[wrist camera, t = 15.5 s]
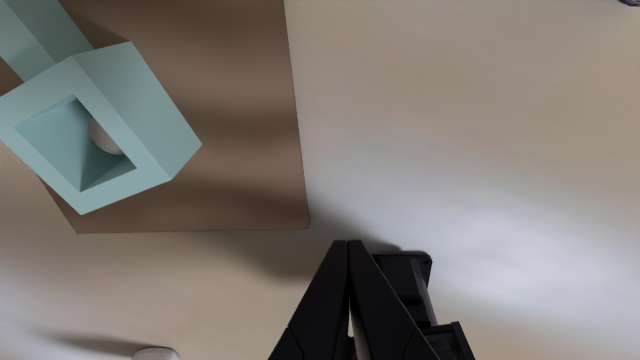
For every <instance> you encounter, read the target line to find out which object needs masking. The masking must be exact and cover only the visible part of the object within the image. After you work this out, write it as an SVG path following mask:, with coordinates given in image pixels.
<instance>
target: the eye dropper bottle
mask: <svg viewBox="0 0 640 360" xmlns="http://www.w3.org/2000/svg"><path fill="white" fill-rule="evenodd" d="M131 360H180V357H179V356H178V355H177V354H176V352H175V351H174V350H172V349H167V348H146V349H142V350H139V351H137V352H136V353H135V354H134V356H133V357H132V359H131Z"/></svg>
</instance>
